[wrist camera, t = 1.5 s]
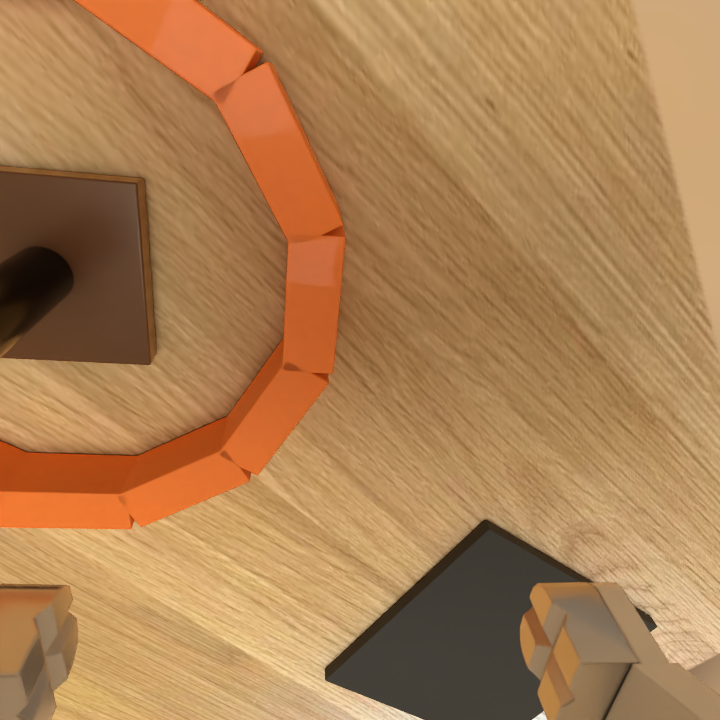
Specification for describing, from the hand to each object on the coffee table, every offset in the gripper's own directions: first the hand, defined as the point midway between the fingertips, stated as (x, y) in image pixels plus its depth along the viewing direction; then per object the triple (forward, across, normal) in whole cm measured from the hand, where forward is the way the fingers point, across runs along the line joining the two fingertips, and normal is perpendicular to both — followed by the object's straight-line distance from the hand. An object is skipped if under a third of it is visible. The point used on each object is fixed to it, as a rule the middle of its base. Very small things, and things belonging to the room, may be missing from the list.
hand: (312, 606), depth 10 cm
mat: (+17, -14, +25) cm, 33 cm away
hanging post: (+17, +11, 0) cm, 20 cm away
